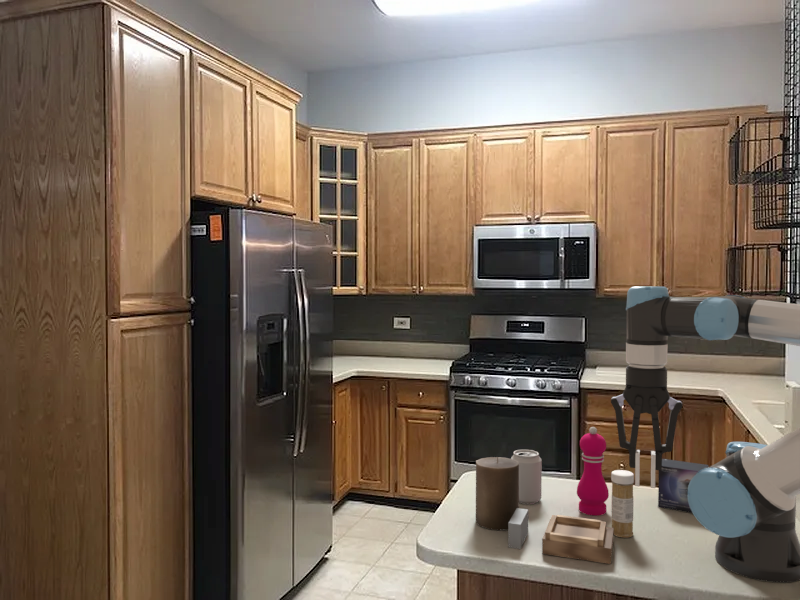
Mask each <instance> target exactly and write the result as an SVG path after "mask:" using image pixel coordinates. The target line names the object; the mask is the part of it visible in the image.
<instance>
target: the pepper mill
mask: <svg viewBox="0 0 800 600" xmlns="http://www.w3.org/2000/svg"><path fill="white" fill-rule="evenodd" d="M579 448H580V450H581V451H582V453H581V460H582V461H583V473H582V475H581V478H580V480H579V481H578V484H577V487H576V495H577V497H578V498H579V502H578V512H580V513H582V514H584V515H587V516H592V517H593V516H595V517H596V516H597V517H599V516H603V515H605V514H606V513H607V504H606V501H607V500H608V498H609V495H610V494H609V488H608V484H607V483H606V480H605V478H604V476H603V472H602V469H603V468H602V465H603V462H604V461H605V459H604V458H605V454H604V452H605V451H606V449H607V442H606V439H605V438H604V437H603V436H602V435H601V434H599V433H598V429H597V428H596V427H595V426H591V427H589V433H588V432H587V433H585V434H584V435H583V436H581V438H580V440H579Z"/></svg>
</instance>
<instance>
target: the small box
mask: <svg viewBox="0 0 800 600" xmlns="http://www.w3.org/2000/svg"><path fill="white" fill-rule="evenodd" d="M709 467H710V466H709V464H704V463H696V462H689V461H682V460H675V459H668V458H662V469H661V470H658V491H657V492H658V494H657V495H658V496H657V499H658V501H657V502H658V503H657V508H662V509H667V510H674V511H678V512H684V513H691V514H693V513H692V511H691V509H690V506H689V503H688V497H687V495H688V485H689V483H690V481H691V479H692V478H693V477H694V476H695V475H696V474H697V472H699V471H700V470H702V469H704V468H709Z"/></svg>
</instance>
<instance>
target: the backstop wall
mask: <svg viewBox="0 0 800 600" xmlns="http://www.w3.org/2000/svg"><path fill="white" fill-rule="evenodd" d="M507 533H508V537H507V538H508V539H507V540H508V541H507V544H508V548H513V549H519V550H521V548H522V547H523V544H524V543H525V540H526V538H527V537H528V533H529V509H527V508H520V507H519V508H517V509H516V510H515V512H514V514H513V516H512V517H511V519H510V521H509V523H508V532H507Z"/></svg>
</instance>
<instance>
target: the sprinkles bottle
mask: <svg viewBox="0 0 800 600" xmlns="http://www.w3.org/2000/svg"><path fill="white" fill-rule="evenodd" d="M610 475H611V476H610V477H611V478H610V479H611V488H612V489H611V527H612V528H614V536H616V537H619V538H624V539H625V538H631V537H633V536H634V531H633V530H634V525H633V524H634V484H635V473H633V472H632V471H629V470H625V469H623V470H622V469H615V470H612V471H611V474H610Z"/></svg>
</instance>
